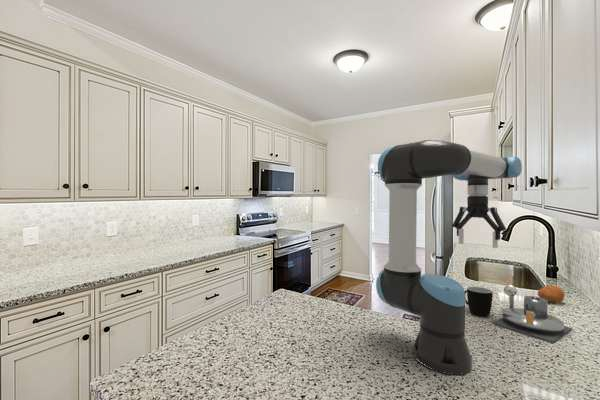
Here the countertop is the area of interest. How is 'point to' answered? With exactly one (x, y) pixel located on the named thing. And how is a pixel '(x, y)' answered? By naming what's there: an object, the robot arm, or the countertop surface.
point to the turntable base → (533, 331)
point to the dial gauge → (510, 294)
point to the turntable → (532, 320)
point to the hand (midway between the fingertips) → (477, 245)
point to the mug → (479, 301)
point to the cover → (536, 306)
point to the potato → (551, 293)
